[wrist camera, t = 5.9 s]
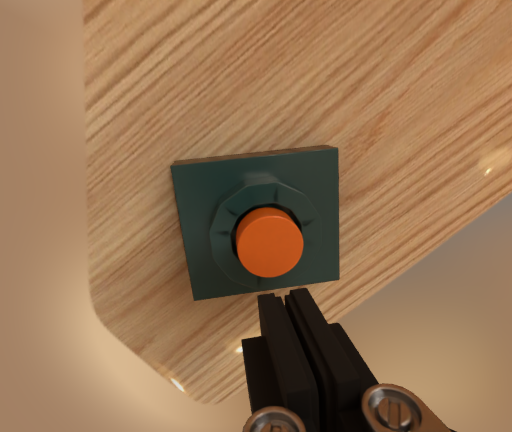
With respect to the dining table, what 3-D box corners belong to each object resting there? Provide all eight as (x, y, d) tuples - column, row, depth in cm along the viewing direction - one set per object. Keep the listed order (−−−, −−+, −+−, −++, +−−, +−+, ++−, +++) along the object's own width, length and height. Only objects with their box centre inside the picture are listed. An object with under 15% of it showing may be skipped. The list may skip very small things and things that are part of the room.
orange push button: (238, 267, 19) (241, 282, 17) (232, 210, 18) (233, 220, 16) (297, 259, 19) (305, 273, 18) (294, 203, 18) (302, 211, 16)
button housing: (195, 284, 23) (191, 317, 19) (174, 160, 20) (165, 170, 16) (328, 265, 24) (350, 294, 20) (326, 144, 21) (350, 150, 17)
